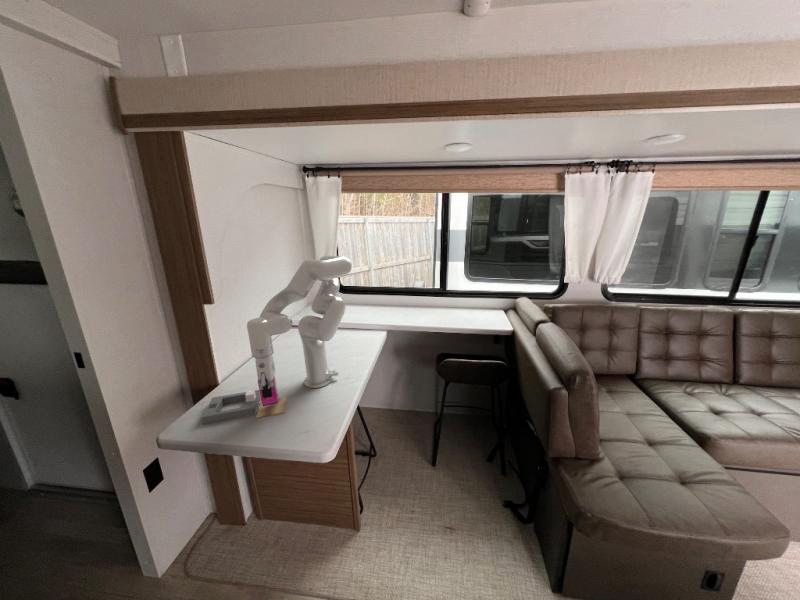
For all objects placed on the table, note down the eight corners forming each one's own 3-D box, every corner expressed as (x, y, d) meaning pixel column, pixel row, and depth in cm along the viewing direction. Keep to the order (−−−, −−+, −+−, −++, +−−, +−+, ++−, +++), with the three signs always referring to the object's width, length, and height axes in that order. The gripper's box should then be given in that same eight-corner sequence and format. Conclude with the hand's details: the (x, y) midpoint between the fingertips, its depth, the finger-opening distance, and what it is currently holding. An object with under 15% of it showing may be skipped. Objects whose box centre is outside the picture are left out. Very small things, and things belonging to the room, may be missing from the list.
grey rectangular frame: (260, 395, 126) (258, 383, 125) (255, 414, 114) (252, 401, 113) (213, 403, 122) (210, 391, 120) (202, 424, 110) (199, 410, 108)
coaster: (286, 398, 124) (286, 397, 124) (284, 412, 115) (284, 411, 114) (261, 402, 121) (260, 401, 121) (256, 418, 112) (256, 416, 112)
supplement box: (262, 398, 118) (258, 373, 116) (278, 395, 120) (274, 370, 117) (261, 406, 113) (257, 380, 110) (278, 403, 115) (274, 377, 112)
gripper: (269, 358, 104) (276, 403, 109) (275, 340, 120) (281, 379, 125) (246, 361, 102) (254, 406, 107) (255, 343, 118) (262, 382, 123)
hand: (269, 392), depth 116 cm, fingers closed on supplement box, 6 cm apart
